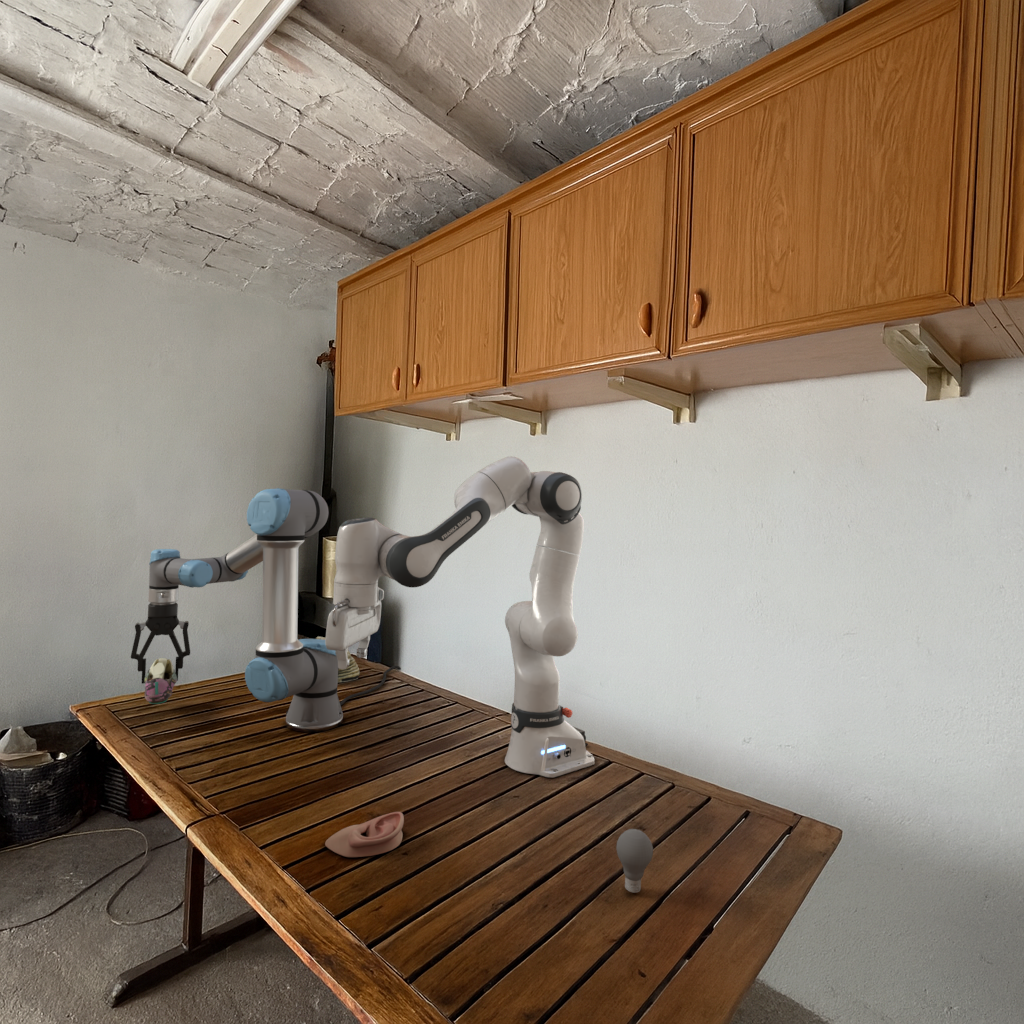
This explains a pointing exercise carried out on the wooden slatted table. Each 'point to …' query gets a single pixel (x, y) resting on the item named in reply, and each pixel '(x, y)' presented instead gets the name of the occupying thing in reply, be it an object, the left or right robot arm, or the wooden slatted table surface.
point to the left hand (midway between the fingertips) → (160, 680)
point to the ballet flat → (160, 681)
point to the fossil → (347, 669)
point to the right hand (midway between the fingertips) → (352, 662)
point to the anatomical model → (368, 837)
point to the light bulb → (634, 857)
